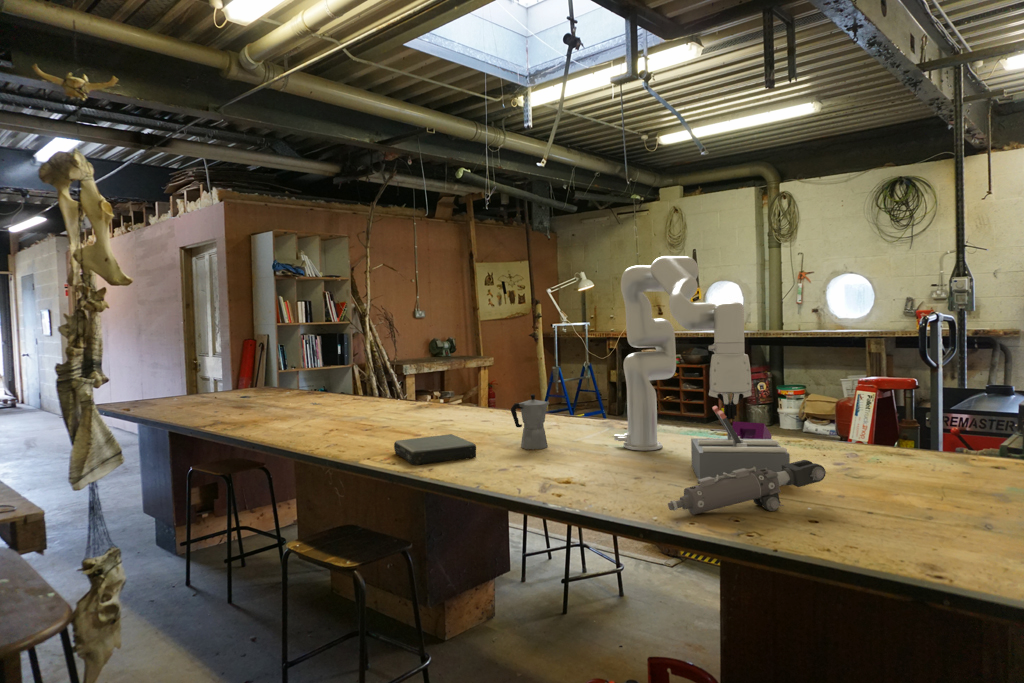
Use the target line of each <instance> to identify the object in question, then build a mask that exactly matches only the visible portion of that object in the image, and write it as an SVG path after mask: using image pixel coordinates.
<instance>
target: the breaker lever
mask: <svg viewBox="0 0 1024 683" xmlns="http://www.w3.org/2000/svg"><path fill="white" fill-rule="evenodd" d="M719 410H720V411H718V412H717V413H718V415H719V416H720V418H721V420H722V421H723V423H724V425H725V426H726V428H727V430H728V431H729V433H730V435H731V436H732V438H733V440H734V441H735V443H736V445H737V443H742V442H741V441H740V439H739V437H738V436H737V434H736V432H735V431H734V429H733V427H732V424H731V423H730V420H729V419H727V417H726V416H725V414H724V410H721V409H719Z"/></svg>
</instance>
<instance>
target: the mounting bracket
mask: <svg viewBox="0 0 1024 683" xmlns="http://www.w3.org/2000/svg"><path fill="white" fill-rule="evenodd" d="M731 426H732V427H733V429H734V431H735V432H736V433H737V436H739V437H740V439H772V434H771V432H770V430H769V428H768V427H767V425H766V424H765V423H762V422H751V421H750V422H749V421H732V424H731Z"/></svg>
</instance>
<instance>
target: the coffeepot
mask: <svg viewBox="0 0 1024 683" xmlns="http://www.w3.org/2000/svg"><path fill="white" fill-rule="evenodd" d="M549 404H550V402H549V401H545V400H544V401H543V400H538V399H536V394H534V393H533V394H530V399H528V400H525V401H522V402H517V403H514V404H513V405H512V406H511V408H510V414H511V415H512V418H513V420H514V424H515V427H516V428H522V427H523V429H522V435H521V442H520V447H521V448H522V449H523V448H524V450H529V449H532V450H531V451H534V449H538V450H543V449H546V448H548V441H547V436H546V430H545V427H544V423H545V422H546V415H547V407H548V406H549ZM517 409H519V410H520V413H521V419H522V423H523V424H522V423H521V424H520V423H519V418H518V413H517Z"/></svg>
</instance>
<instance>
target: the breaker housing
mask: <svg viewBox="0 0 1024 683" xmlns="http://www.w3.org/2000/svg"><path fill="white" fill-rule="evenodd" d="M711 408H712V411H713V412H714V413H715V415H716V417H717V419H718V420H719V422H720V423H721V425H722V426H723V428H724V430H725V431H726V433H727V438H702V437H700V438H699V437H698V438H694V437H693V438H690V441H691V442H690V443H691V444H690V445H691V447H690V448H691V450H690V452H691V468H692V469H693V471H694V472H693V473H694V474H695V476H696V478H697V480H698V479H702V478H706V477H712V478H715V477H717V475H718V476H723V473H727V474H731V473H732V471H735V470H739V469H743V468H745V469H751V468H753V467H756V470H760V469H764V468H767V469H768V470H771V471H773V472H781V470H782V465H784V464H788V463H791V462H790V460H791V459H790V452H788V448H787V447H782V446H781V445H780V444H779V441H778V440H775V439H773V438H771V439H740V437H739V436H738V437H739V439H740V441H741V442H742V443H737V445H736V443H735V441H734V440H733V438H732V436H731V435H730V433H729V431H728V430H727V428H726V426H725V425H724V423H723V421H722V420H721V418H720V416H719V415H718V413H717V412H718V411H720V410H721V409H719V407H718V406H717V405H714V406H712V407H711ZM736 434H737V433H736ZM751 472H752V471H751ZM723 479H724V478H723ZM782 486H787V485H786V484H783V485H782Z"/></svg>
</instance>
